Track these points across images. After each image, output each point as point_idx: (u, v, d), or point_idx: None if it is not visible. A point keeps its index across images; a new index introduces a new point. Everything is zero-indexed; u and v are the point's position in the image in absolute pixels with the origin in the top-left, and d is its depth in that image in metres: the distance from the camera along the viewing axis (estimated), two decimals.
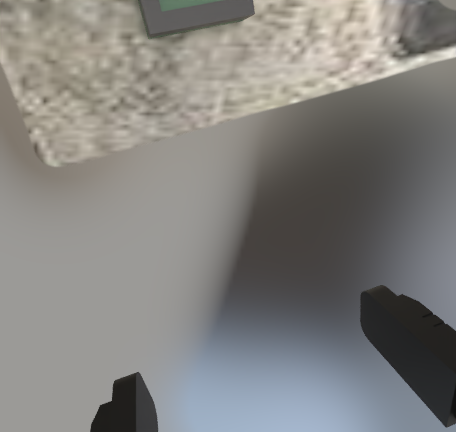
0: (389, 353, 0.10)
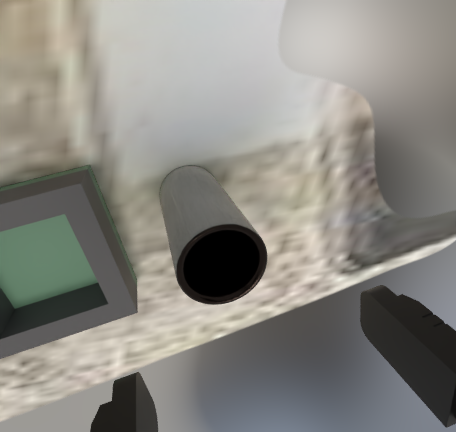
0: (389, 353, 0.10)
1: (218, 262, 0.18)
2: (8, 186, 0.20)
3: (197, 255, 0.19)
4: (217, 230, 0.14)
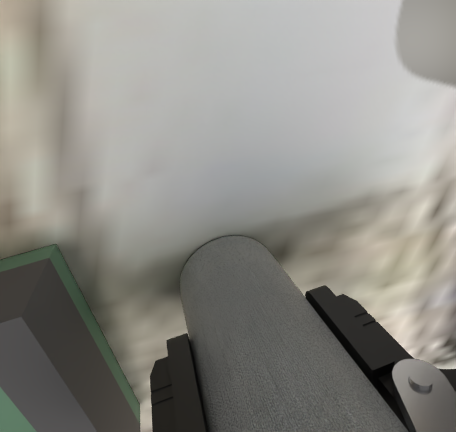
0: None
1: None
2: None
3: None
4: None
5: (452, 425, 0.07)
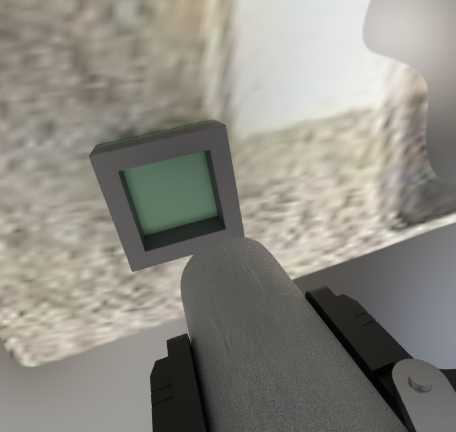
0: None
1: None
2: (155, 132, 0.26)
3: None
4: None
5: (453, 426, 0.07)
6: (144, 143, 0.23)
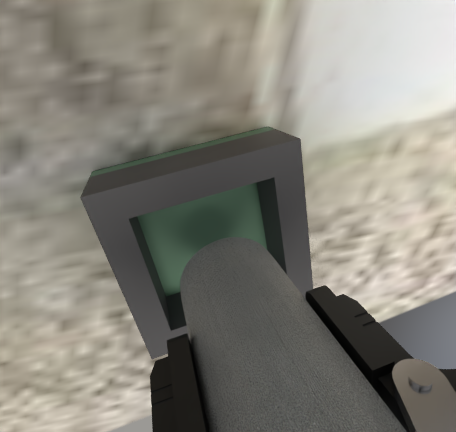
0: None
1: None
2: (183, 149, 0.17)
3: None
4: None
5: (452, 425, 0.07)
6: (171, 172, 0.14)
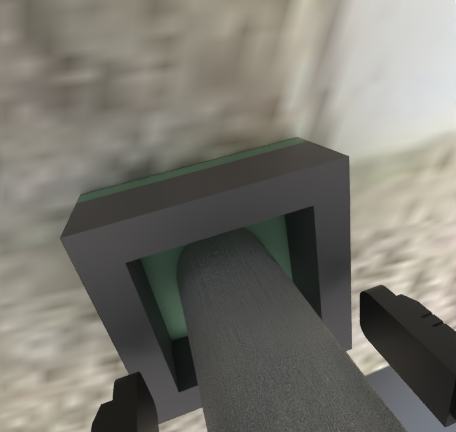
0: (388, 353, 0.10)
1: None
2: (194, 166, 0.14)
3: None
4: None
5: None
6: (182, 201, 0.10)
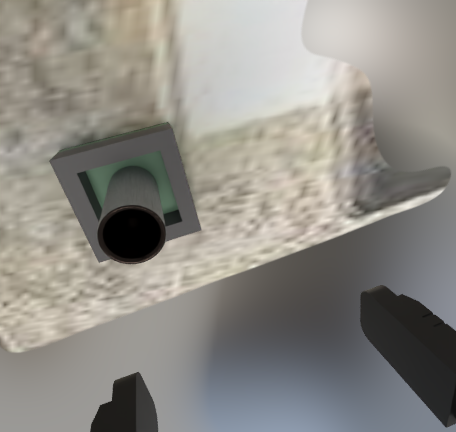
0: (389, 353, 0.10)
1: (142, 237, 0.25)
2: (114, 136, 0.29)
3: (129, 233, 0.25)
4: (123, 209, 0.20)
5: None
6: (99, 147, 0.25)
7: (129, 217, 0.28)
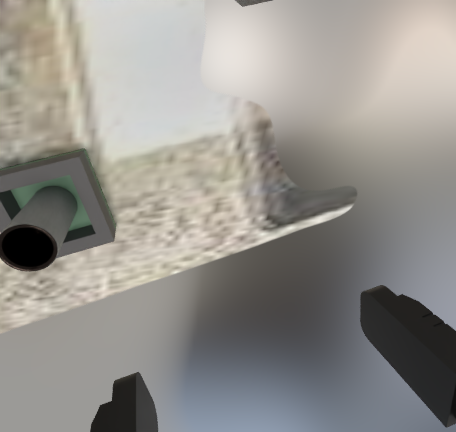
0: (389, 353, 0.10)
1: (47, 248, 0.30)
2: (36, 160, 0.33)
3: (38, 244, 0.30)
4: (17, 227, 0.25)
5: None
6: (15, 172, 0.30)
7: None
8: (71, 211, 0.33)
